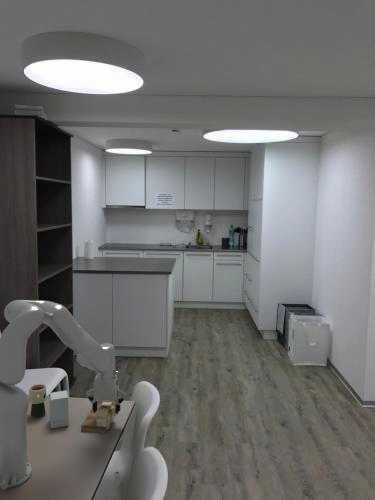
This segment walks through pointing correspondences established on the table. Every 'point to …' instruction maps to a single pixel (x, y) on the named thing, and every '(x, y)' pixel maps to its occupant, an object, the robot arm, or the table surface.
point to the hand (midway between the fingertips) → (106, 411)
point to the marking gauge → (105, 415)
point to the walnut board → (90, 420)
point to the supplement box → (58, 409)
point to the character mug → (37, 399)
